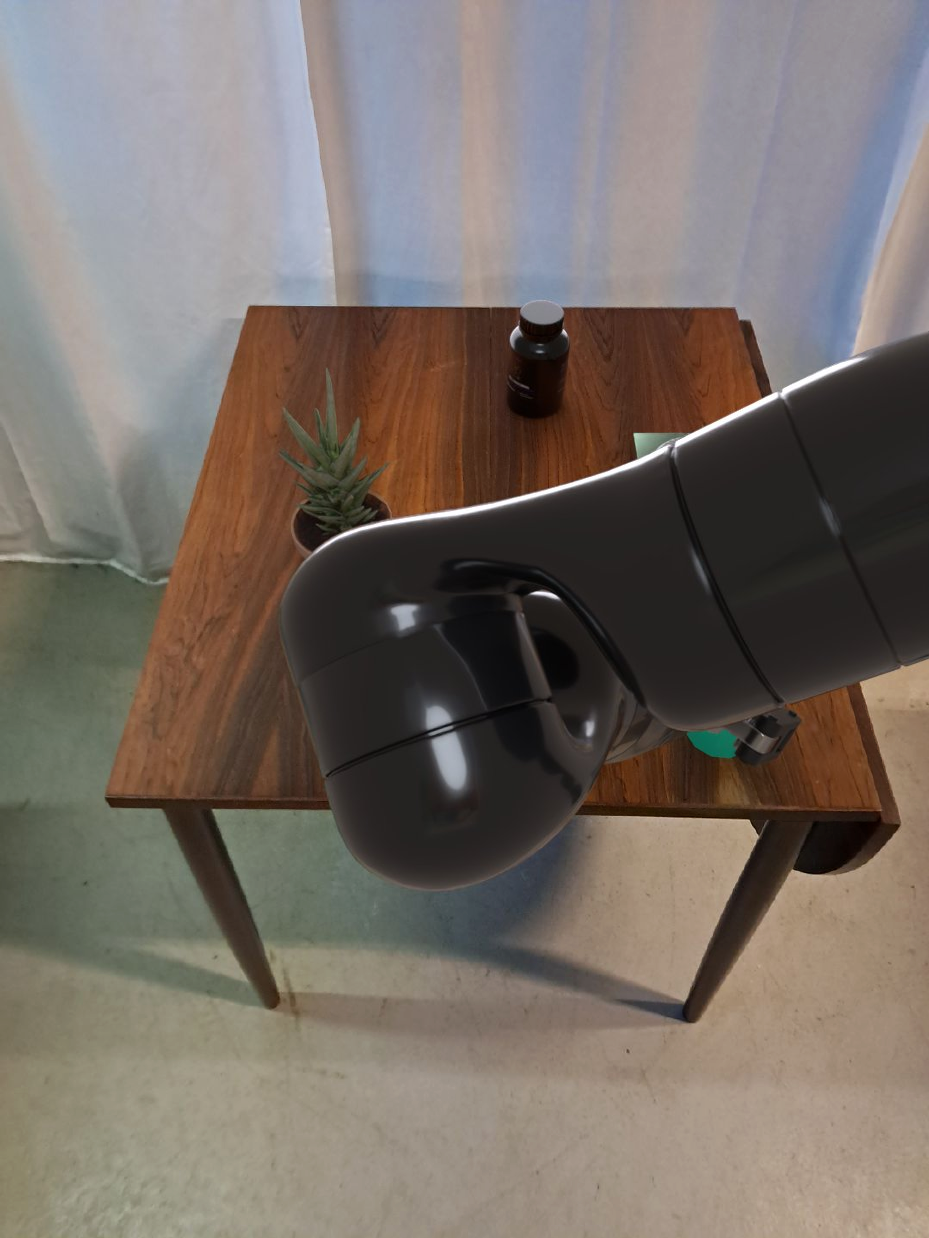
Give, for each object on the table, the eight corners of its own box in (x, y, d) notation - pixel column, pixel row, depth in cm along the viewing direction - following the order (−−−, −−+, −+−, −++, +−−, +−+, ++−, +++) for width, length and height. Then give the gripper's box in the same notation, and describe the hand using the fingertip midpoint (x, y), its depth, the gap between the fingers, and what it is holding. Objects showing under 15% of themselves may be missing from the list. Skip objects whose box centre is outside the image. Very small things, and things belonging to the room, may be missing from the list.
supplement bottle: (502, 417, 103) (505, 327, 94) (510, 381, 107) (513, 291, 98) (561, 423, 103) (570, 333, 93) (566, 386, 107) (576, 296, 97)
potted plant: (321, 621, 85) (275, 417, 66) (289, 555, 90) (238, 347, 71) (417, 586, 88) (400, 380, 68) (380, 524, 93) (356, 315, 73)
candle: (676, 744, 77) (705, 665, 67) (692, 690, 80) (722, 607, 70) (746, 768, 75) (785, 689, 66) (759, 711, 78) (798, 629, 69)
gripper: (799, 692, 36) (839, 675, 51) (528, 526, 42) (632, 553, 57) (703, 838, 38) (767, 782, 52) (455, 660, 44) (574, 653, 58)
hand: (697, 663), depth 55 cm, fingers open, 8 cm apart
